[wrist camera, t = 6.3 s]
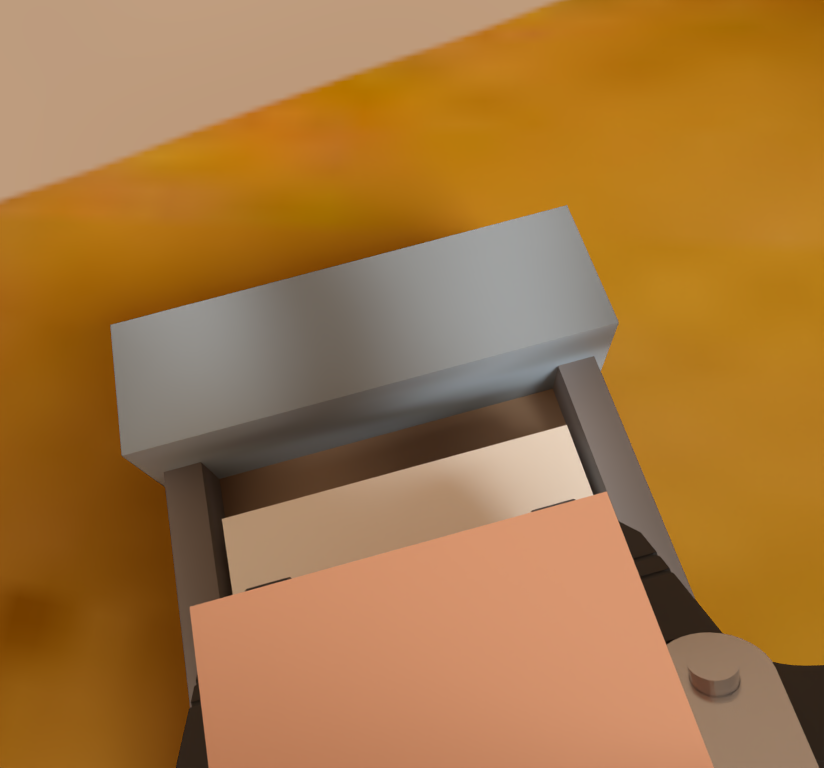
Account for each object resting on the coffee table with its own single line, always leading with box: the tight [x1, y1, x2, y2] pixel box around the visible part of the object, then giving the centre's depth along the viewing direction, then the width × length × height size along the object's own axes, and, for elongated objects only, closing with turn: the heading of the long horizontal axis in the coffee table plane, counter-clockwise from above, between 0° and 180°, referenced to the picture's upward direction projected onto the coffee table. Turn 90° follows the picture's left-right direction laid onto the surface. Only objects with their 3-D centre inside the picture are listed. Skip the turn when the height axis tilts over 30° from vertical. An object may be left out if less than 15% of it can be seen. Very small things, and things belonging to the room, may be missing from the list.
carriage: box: [190, 425, 714, 768], centre depth 10 cm, size 7×9×8 cm
